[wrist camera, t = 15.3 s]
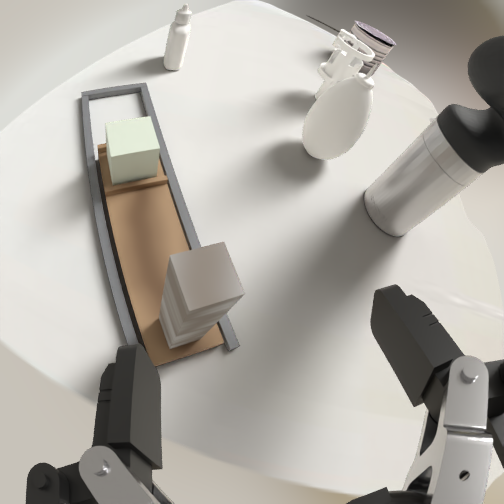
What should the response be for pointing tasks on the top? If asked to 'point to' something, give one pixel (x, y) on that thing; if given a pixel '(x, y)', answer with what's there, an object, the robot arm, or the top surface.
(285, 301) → the top surface
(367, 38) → the can
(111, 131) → the block
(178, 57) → the eye dropper bottle
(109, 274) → the track
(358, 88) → the sauce bottle
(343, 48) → the white tall plastic piece
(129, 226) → the wooden board with post
